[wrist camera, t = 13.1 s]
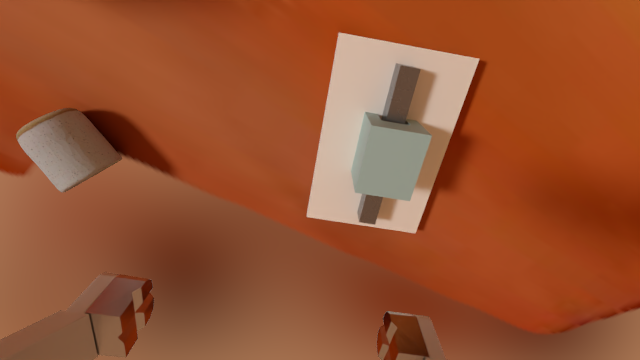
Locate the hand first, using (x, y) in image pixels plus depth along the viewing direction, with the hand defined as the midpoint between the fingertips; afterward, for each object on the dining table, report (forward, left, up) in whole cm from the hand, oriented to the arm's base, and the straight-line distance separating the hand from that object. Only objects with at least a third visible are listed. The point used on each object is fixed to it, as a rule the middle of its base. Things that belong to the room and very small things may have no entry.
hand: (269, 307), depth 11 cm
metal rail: (+3, +10, -30) cm, 31 cm away
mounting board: (+3, +10, -31) cm, 33 cm away
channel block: (+3, +10, -30) cm, 31 cm away
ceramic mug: (+10, -29, -31) cm, 44 cm away
